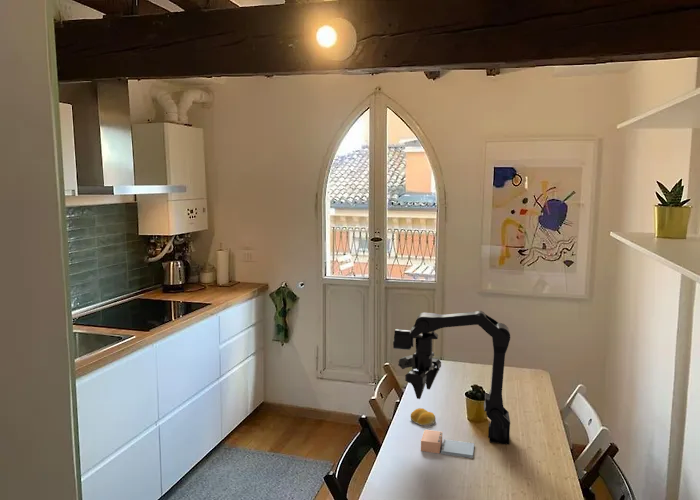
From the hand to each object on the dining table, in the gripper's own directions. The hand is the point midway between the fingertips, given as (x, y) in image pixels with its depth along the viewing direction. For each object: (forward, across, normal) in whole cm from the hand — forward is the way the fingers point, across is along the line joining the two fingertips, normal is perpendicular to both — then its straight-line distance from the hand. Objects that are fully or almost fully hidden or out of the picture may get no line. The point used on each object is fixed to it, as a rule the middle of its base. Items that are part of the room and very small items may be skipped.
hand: (423, 393), depth 187 cm
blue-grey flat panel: (+14, +6, +14) cm, 21 cm away
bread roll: (+14, -8, -3) cm, 17 cm away
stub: (+14, +8, +6) cm, 17 cm away
